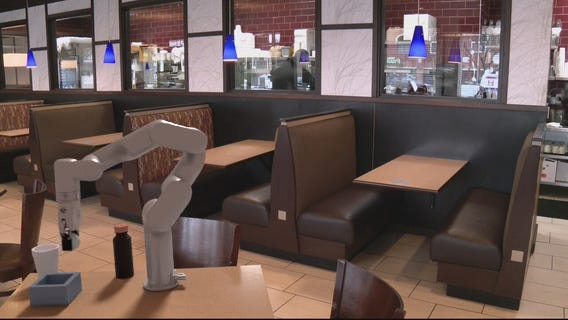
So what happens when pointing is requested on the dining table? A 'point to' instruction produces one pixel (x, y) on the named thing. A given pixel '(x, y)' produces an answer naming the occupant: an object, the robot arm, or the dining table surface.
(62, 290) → the blue-grey open box
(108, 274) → the dining table surface
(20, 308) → the dining table surface
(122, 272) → the bottle
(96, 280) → the dining table surface
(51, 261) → the foam cup
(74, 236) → the ball
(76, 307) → the dining table surface
